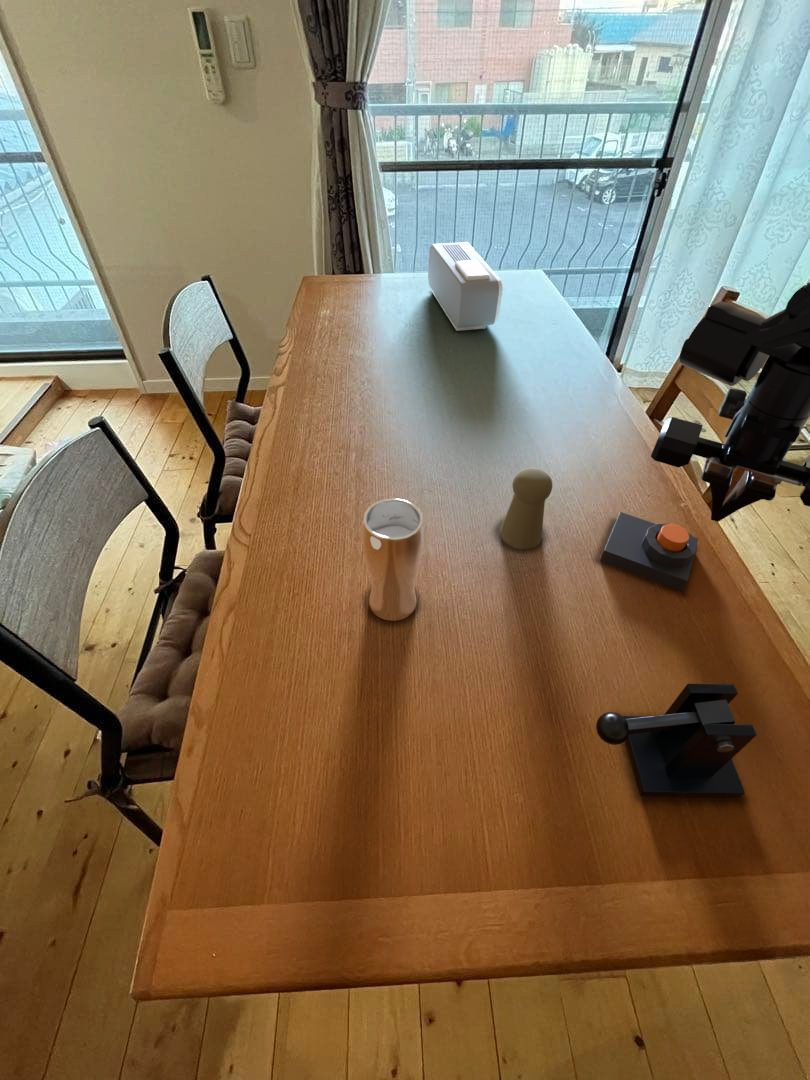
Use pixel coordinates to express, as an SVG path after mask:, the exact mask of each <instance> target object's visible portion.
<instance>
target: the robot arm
mask: <svg viewBox="0 0 810 1080" xmlns="http://www.w3.org/2000/svg"><path fill="white" fill-rule="evenodd" d="M679 363H680V365H681V366H684V367H686V368H689V369H691V370H693V371H696V372H698V373H700V374H702V375H705V376H706V377H709V378H711V379H713V380H716V381H718V382H720V383H723V384H725V385H727V386H730V387H728V390H727V391H726V394H725V396H724V398H723V400H722V402H721V404H720V407H719V409H718V412H717V413H718V415H717V416H718V417H720V418H725V419H728V420H731V421H730V423H729V424H728V427H727V429H726V431H725V434H724V437H725V438H726V439H725V441H724V443H723V442H719V441H715V440H711V439H708V438H705V437H701V436H700V435H701V433H702V429H703V424H701V423H696V422H693V421H689V420H686V419H681V418H678V417H674V416H671V417H669V418H667V419H665V420H664V423H663V425H662V427H661V430H660V432H659V434H658V437H657V439H656V442H655V444H654V446H653V449H652V452H651V455H650V457H651V458H652V460H654V461H655V462H658V463H662V464H665V465H668V466H671V467H676V468H682V467H684V466H687V465H689V464H690V462H691V459H692V457H693V456H697V457H700V458H704V459H705V462H704V466H703V469H702V473H701V476H700V479H701V480H702V482H705V483H708V484H709V487H710V488H709V489H710V493H711V511H710V513H711V514H710V520H711V521H712V522H713V521H714V522H717V523H719V522H720V521H722V520H724V519H726V518H727V517H729V516H730V515H732V514H734V513H736V512H737V511H739V510H740V509H743V508H745V507H747V506H750V505H752V504H754V503H756V502H759V501H761V500H764V501H769V502H770V501H773V500H774V499H775V498H776V493H777V492H776V491H777V487H778V485H781V483H782V482H784V483H788V484H791V485H795V486H798V487H803V489H802V490H801V492H800V493H799V498H800V500H801V502H802V504H803V506H806V507H810V455H808V456H807V457H806V458H805V460H804V461H803V463H802V465H801V464H798V463H794V462H790V461H787V458H786V455H787V453H788V452H789V450H790V449H791V447H792V446H793V444H794V443H795V442H797V439H798V438H799V436H800V433H801V431H802V430H803V428H804V427H805V425H806V423H807V421H808V420H809V418H810V281H809V282H807V283H805V284H804V285H803V286H801V287H800V288H799V289H797V290H796V291H795V292H794V293H793V294H792V295H791V297H790V299H789V300H788V301H787V303H786V306H785V308H784V309H782V310H781V311H779V312H777V313H775V314H773V315H771V316H769V317H767V318H764V317H762V316H758V315H755V314H753V313H750V312H748V311H744V310H742V309H739V308H737V307H736V306H734V305H733V304H730V303H728V302H727V301H726V302H725V301H722V300H720V301H718V302H716V303H713V304H711V305H709V306H708V308H707V310H706V313H705V315H704V316H703V318H702V319H701V320H699V322H698V323H697V324H696V326H695V327H694V328H693V330H692V331H691V333H690V334H689V337H688V338H686V339H685V340H684V342H683V345H682V347H681V349H680V353H679ZM760 370H761V371H760ZM759 372H760V373H759ZM758 373H759V374H758ZM757 374H758V376H757ZM755 376H757V379H756V380H755V382H754V384H753V386H752V388H751V390H750V391H749V393H747V391H746V390H743V389H738V388H735V387H734V386H736V385H737V384H738V383H740V381H742V380H743V381H746V382H749V381H751V380H752V379H753V378H755ZM735 469H739V470H742V471H743V474H742V475H741V478H739V480H738V482H737V483H736V484H735V486H734V487H733V488H732V490H731V491H730V492H729V489H730V487H731V483H732V479H733V474H734V471H735ZM728 492H729V494H728Z"/></svg>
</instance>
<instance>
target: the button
mask: <svg viewBox="0 0 810 1080" xmlns="http://www.w3.org/2000/svg"><path fill="white" fill-rule="evenodd" d="M666 524H667V525H665V526H663V527H662V528H661V530H660V532H659V534H658V537H657V542H658V544H659V545H660V546H661V547H663V548H664V549H666V550H669V551H672V552H679V551H681V550H683V549H684V547H685V546H686V544H687V542H688V540H689V534H690V533H689V532H688V530H686V529H685V528H684V527H683V526H681V525H678V524H673V523H666ZM688 533H689V534H688Z"/></svg>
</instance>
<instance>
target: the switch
mask: <svg viewBox="0 0 810 1080" xmlns="http://www.w3.org/2000/svg"><path fill="white" fill-rule="evenodd" d="M623 716H624V715H622V714H620V713H618V712H614V711H608V712H605V713H602V714H601V715H600V716H599V717H598V718H597V721H596V725H595V728H596V734H597V735H598V737H599V738H600V739H601V740H602V741H603V742H604V743H606V744H608V745H611V746H617V745H622V744H623V743H624V742H626V741H625V740H626V739H627V738H628V736H629V734H636V733H645V732H655V731H665V730H674V729H684V728H693V727H697V729H698V730H699V728H700V727H701V726H702V725H703V724H736V719H735V716H734V714H733V712H732V710H731V707H730V705H729V704H728V702H727V700H726V699H724V700H715V701H706V702H697V703H694V707H693V712H687V713H678V714H669V715H664V714H660V715H649V716H650V717H641V718H632V719H625V718H624V717H623Z"/></svg>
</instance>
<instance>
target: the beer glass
mask: <svg viewBox="0 0 810 1080" xmlns="http://www.w3.org/2000/svg"><path fill="white" fill-rule="evenodd" d="M362 520H363V527H362V550H363V558H364V563H365V566H366V570H367V572H368V575H369V580H370V583H371V590H370V593H369V597H368V598H369V600H368V604H369V608H370V610H371V611H372V613H373V614H374V615H375V616H376V617H378V618H380V619H381V620H384V621H389V622H396V621H397V622H398V621H402V620H405V619H406V618H408V617H410V615H412V614H413V612H414V611H415V609H416V606H417V595H416V591H415V582H416V578H417V576H418V573H419V570H420V567H421V563H422V558H423V552H424V537H425V536H424V516H423V512H422V511H421V509H420V508H419V507H418V506H417V505H416V504H414V503H412V502H411V501H408V500H406V499H402V498H385V499H381V500H377V501H375V502H374V503H372V504H371V505H369V507H368V508H367V509H366V510H365V512H364V514H363V519H362Z"/></svg>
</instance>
